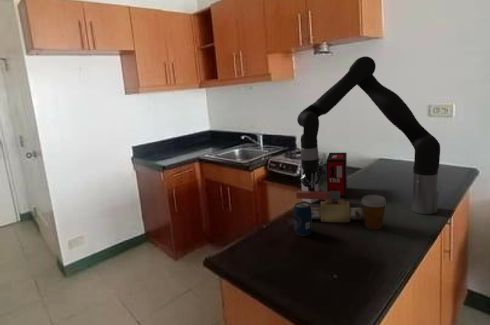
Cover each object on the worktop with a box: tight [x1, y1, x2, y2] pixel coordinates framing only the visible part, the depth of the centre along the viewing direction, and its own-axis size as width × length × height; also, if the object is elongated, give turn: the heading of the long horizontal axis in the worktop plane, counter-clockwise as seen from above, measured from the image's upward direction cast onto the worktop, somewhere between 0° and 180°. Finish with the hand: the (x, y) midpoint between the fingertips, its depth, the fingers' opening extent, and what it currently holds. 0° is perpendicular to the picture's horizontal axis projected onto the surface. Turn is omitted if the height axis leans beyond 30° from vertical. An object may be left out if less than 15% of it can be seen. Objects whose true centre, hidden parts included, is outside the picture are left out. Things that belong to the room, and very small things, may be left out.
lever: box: [295, 190, 341, 201], centre depth 146 cm, size 18×4×3 cm, turn 71°
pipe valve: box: [311, 198, 363, 223], centre depth 145 cm, size 25×7×9 cm, turn 78°
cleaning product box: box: [326, 152, 348, 199], centre depth 175 cm, size 16×9×20 cm, turn 161°
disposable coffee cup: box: [360, 194, 387, 230], centre depth 134 cm, size 10×10×12 cm
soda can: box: [293, 201, 313, 237], centre depth 134 cm, size 7×7×12 cm
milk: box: [300, 164, 320, 204], centre depth 167 cm, size 6×6×22 cm
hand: (311, 194), depth 150 cm, fingers closed
